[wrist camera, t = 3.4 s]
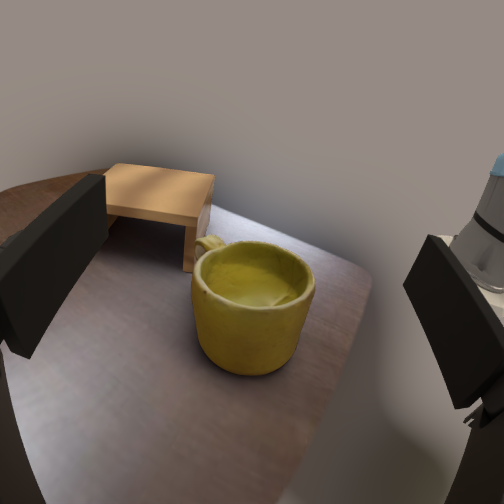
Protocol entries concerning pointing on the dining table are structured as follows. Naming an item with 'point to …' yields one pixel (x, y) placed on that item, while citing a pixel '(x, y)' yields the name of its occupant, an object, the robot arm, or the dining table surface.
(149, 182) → the shelf
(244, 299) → the mug
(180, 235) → the dining table surface
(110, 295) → the dining table surface
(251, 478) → the dining table surface
